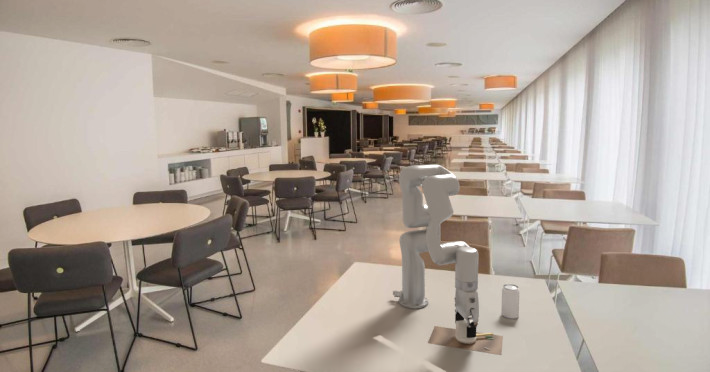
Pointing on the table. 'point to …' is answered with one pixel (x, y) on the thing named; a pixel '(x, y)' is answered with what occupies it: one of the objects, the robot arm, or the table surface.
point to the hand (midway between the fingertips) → (465, 330)
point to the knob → (462, 332)
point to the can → (510, 301)
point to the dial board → (448, 339)
